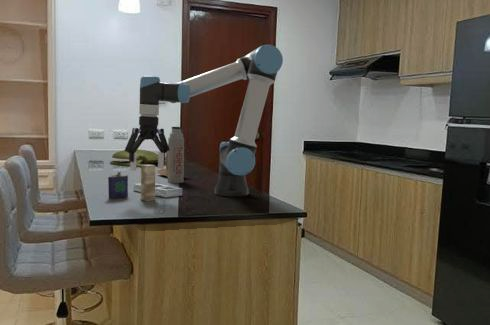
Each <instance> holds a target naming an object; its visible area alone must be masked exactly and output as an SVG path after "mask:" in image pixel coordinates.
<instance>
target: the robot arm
mask: <svg viewBox="0 0 490 325" xmlns="http://www.w3.org/2000/svg"><path fill="white" fill-rule="evenodd" d="M283 62H284V60H283V54H282V52H281V50H280V49H279V48H277V47H276V46H274V45H272V44H264V45H260V46H259V47H257V48H255V49H254V50H252V51H251V52H249V53H248V54H246V55H244V56H242V57H240V58H237V59H236V61H235V62H232V63H229V64H226V65H224V66H221V67H218V68H215V69H213V70H210V71H207V72H204V73H201V74H198V75H195V76H193V77H190V78H187V79H185V80H182V81H179V82H162V81H161V80H160V77H159V76H154V75H152V76H151V75H142V76H141V77H140V79H139V80H140V84H139V107H138V108H139V113H138V114H139V117H138V125H139V128H138V127H132V131H131V134H130V137H129V140H128V142H127V144H126V146H125V148H124V150H125V152H128V153H129V159H128V162H129V163H130V167H129V168H130V171H134V172H136V171H137V167H136V158H137V154H134V153H135V152H136V150H137V149H138V150H139V148H140V146H141V145H142V143H143V142H144V141H145V140H151V141H153V143H154V144H155V146H156V148H157V149H158V150H159V152H158V153H157V154H158V164H157V169H159V170H160V169H165V168H164V166H165V164H164V160H165V158H166V153H167V151H169V146H168V141H167V138H166V136H165V129H164V128H163V127H159V117H158V116H159V115H160V114H159V112H160V102H166V103H167V102H168V103H171V104H176V103H180V104H185V103H189V102H190V99H191V97H195V96H197V95H200V94H203V93H205V92H209V91H211V90H215V89H217V88H219V87H222V86H225V85H228V84H232V83H233V82H236V81H237V82H238V81H240V80H244V81H246V80H248V84H247V89H246V93H245V96H244V100H243V103H242V104H243V105H242V107H241V110H240V115H239V119H238V121H237V125H236V126H237V127H236V128H235V133H234V136H233V137H231V138H230V139H229V141H221V143H220V144H219V162H218V163H219V166H218V168H219V169H218V179H217V181H216V185H215V187H214V195H218V196H222V197H245V196H248V195H249V187H248V184H247V179H246V175H248V174H249V173H251V172H252V171H253V169H254V168H255V165H256V156H255V154H256V152H257V147H258V146H257V144H256V142H255V141H256V138H257V134H258V130H259V126H260V122H261V119H262V115H263V111H264V107H265V104H266V101H267V97H268V93H269V89H270V86H271V85H273V84H274V83H275V82H276V79H277V78H276V77H277V75H278V72H279V71H280V70H281V68H282V66H283ZM158 127H159V128H158ZM165 161H166V160H165Z"/></svg>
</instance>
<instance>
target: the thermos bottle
mask: <svg viewBox="0 0 490 325" xmlns="http://www.w3.org/2000/svg"><path fill="white" fill-rule="evenodd" d="M167 140H168V141H167V143H168V146H169V151H168V177H167V182H168V183H173V184H178V183H180V184H181V183H182V184H183V183H184V175H185V173H184V172H185V171H184V168H185V165H184V163H185V160H184V158H185V138H184V133H183V132H182V127H181V126H171V132H170V133H169V137H168V139H167Z"/></svg>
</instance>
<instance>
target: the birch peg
mask: <svg viewBox="0 0 490 325" xmlns="http://www.w3.org/2000/svg"><path fill="white" fill-rule="evenodd" d="M140 183H141V192H140V200H141V201H144V200H145V201H144V202H150V201H156V195H155V183H156V165H155V164H151V163H148V164H143V165H141V168H140Z"/></svg>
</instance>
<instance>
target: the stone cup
mask: <svg viewBox="0 0 490 325" xmlns="http://www.w3.org/2000/svg"><path fill="white" fill-rule="evenodd" d="M165 159H166V160H165V161H166V165H165V168H164V169H160V168H159V169H158V170H157V171H156V173H158V174H160V175H162V176H164V177H166V178H168V151H167V153H165Z"/></svg>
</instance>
